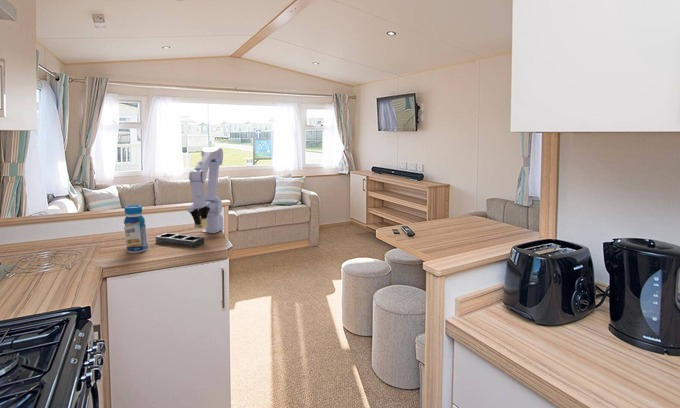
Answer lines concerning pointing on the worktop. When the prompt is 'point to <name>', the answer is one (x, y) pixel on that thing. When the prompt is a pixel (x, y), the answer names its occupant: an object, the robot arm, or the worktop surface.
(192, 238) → the cabinet frame
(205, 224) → the wooden knob block
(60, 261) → the worktop surface
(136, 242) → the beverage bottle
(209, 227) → the robot arm
